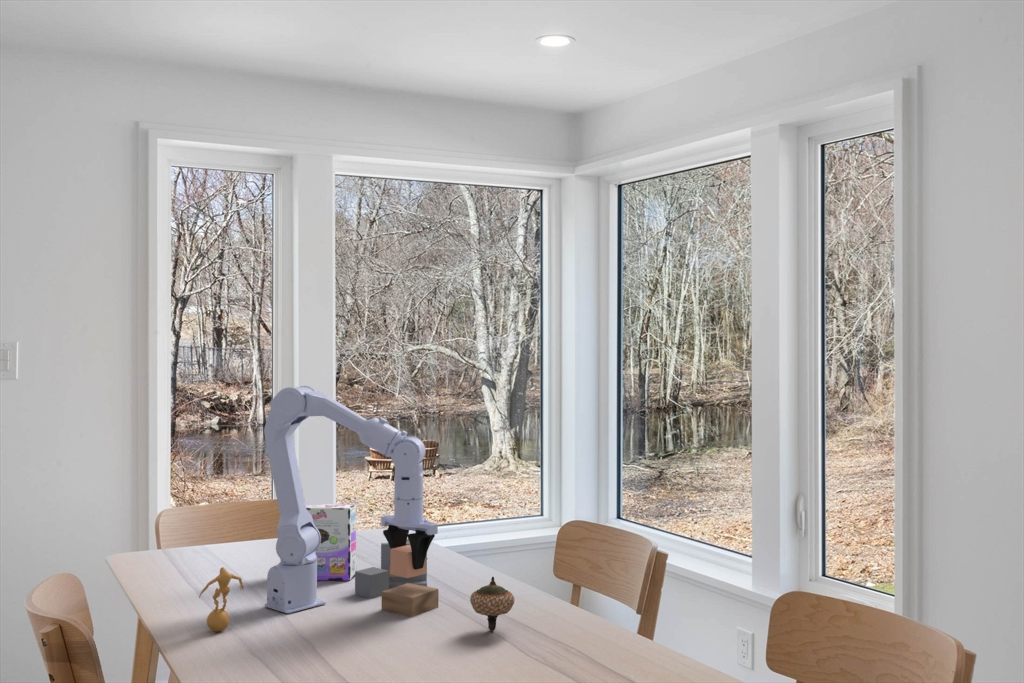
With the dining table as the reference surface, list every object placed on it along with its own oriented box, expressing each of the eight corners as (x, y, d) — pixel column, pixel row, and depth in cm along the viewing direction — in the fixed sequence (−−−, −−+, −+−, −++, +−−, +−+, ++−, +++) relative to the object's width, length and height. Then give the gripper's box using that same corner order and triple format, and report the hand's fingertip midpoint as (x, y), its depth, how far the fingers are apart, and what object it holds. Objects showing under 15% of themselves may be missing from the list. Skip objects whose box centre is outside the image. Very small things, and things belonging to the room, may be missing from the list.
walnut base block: (412, 618, 172) (412, 597, 173) (381, 611, 177) (381, 591, 177) (438, 608, 179) (438, 588, 179) (407, 602, 184) (407, 583, 184)
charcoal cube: (370, 599, 185) (370, 575, 185) (355, 595, 188) (355, 571, 188) (388, 594, 189) (388, 570, 189) (373, 590, 192) (373, 566, 192)
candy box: (357, 575, 205) (357, 503, 205) (349, 581, 199) (350, 507, 199) (299, 573, 206) (299, 502, 207) (290, 580, 200) (290, 506, 201)
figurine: (234, 624, 168) (235, 560, 168) (249, 631, 163) (249, 565, 163) (191, 633, 162) (191, 567, 162) (204, 641, 158) (205, 573, 158)
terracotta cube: (407, 578, 174) (407, 552, 174) (390, 574, 178) (390, 548, 178) (425, 573, 178) (425, 548, 178) (408, 569, 181) (408, 544, 181)
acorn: (501, 641, 158) (501, 584, 158) (461, 634, 162) (461, 579, 162) (522, 628, 166) (522, 574, 166) (483, 622, 169) (483, 569, 169)
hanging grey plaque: (426, 586, 195) (427, 545, 195) (380, 588, 193) (380, 546, 193) (426, 579, 200) (426, 539, 201) (381, 581, 199) (381, 540, 199)
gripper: (448, 499, 176) (448, 568, 176) (399, 491, 186) (399, 557, 186) (422, 503, 171) (422, 575, 171) (373, 496, 181) (373, 563, 180)
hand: (408, 566), depth 178 cm, fingers closed on terracotta cube, 5 cm apart
